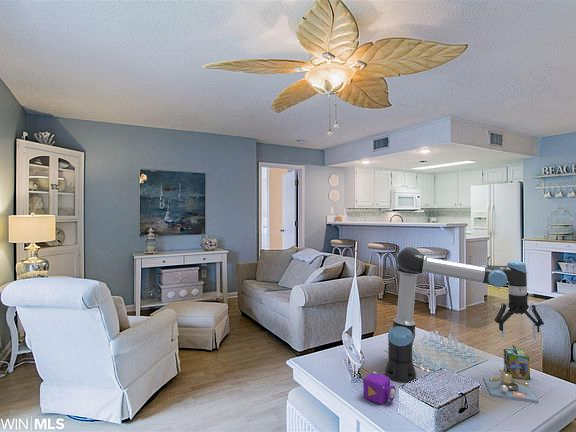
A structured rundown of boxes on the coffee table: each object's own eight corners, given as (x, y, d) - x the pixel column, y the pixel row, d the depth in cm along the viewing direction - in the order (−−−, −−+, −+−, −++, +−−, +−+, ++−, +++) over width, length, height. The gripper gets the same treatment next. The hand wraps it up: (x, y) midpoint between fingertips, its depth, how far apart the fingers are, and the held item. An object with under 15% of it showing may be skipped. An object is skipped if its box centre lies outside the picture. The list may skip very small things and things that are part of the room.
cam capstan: (491, 392, 152) (491, 378, 152) (483, 375, 168) (483, 363, 168) (532, 398, 147) (532, 384, 147) (520, 380, 163) (519, 367, 163)
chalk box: (530, 380, 166) (530, 350, 166) (509, 377, 169) (508, 348, 169) (523, 371, 175) (523, 343, 175) (503, 369, 178) (503, 341, 178)
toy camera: (392, 409, 142) (392, 386, 142) (361, 400, 149) (361, 378, 149) (399, 397, 151) (398, 375, 151) (369, 389, 158) (369, 368, 158)
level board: (491, 396, 152) (490, 392, 152) (483, 378, 168) (483, 375, 168) (538, 403, 146) (538, 399, 146) (525, 384, 162) (525, 381, 162)
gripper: (491, 295, 161) (493, 339, 161) (551, 296, 155) (553, 342, 155) (486, 291, 168) (487, 334, 168) (543, 292, 162) (544, 336, 162)
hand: (519, 338), depth 161 cm, fingers open, 13 cm apart
